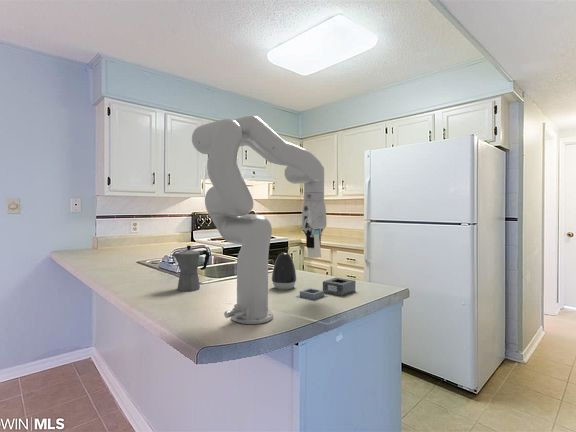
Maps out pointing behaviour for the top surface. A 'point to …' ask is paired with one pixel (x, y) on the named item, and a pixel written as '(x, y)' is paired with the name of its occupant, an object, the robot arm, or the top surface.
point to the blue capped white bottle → (315, 246)
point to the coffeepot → (189, 268)
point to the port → (339, 286)
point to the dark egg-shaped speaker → (284, 272)
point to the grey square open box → (312, 294)
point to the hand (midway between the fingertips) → (313, 246)
